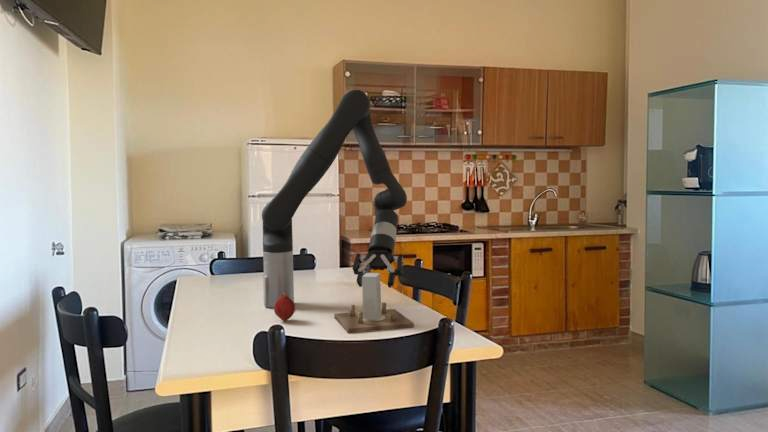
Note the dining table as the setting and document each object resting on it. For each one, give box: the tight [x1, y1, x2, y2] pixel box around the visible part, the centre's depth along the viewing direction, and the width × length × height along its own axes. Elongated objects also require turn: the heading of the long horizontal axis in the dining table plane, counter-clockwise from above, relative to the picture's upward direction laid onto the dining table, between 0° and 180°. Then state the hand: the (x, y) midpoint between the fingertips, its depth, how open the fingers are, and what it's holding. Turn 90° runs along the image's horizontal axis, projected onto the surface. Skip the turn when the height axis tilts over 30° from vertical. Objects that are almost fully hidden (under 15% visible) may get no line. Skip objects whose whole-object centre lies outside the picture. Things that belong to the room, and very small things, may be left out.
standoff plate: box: [333, 302, 415, 334], centre depth 172 cm, size 18×18×4 cm
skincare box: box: [361, 272, 382, 320], centre depth 172 cm, size 6×4×12 cm
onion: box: [273, 293, 296, 322], centre depth 175 cm, size 6×6×8 cm
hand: (374, 285), depth 175 cm, fingers open, 8 cm apart
